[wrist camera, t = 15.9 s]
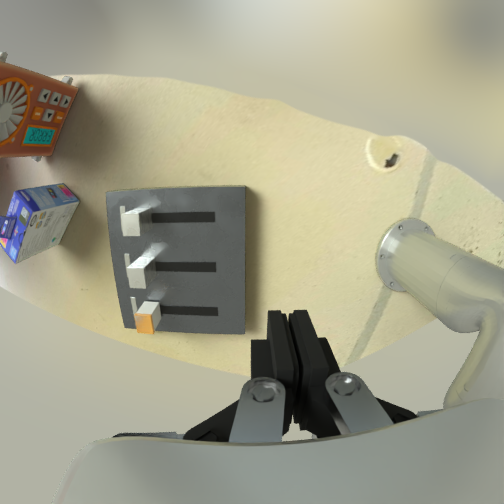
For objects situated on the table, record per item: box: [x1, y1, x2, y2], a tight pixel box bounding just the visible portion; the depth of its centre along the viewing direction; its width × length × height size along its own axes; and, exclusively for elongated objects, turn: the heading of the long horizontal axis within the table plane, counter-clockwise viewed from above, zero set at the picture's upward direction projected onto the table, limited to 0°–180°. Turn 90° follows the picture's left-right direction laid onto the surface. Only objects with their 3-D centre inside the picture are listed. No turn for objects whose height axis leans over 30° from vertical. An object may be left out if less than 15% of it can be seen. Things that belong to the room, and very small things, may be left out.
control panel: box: [0, 52, 79, 162], centre depth 23 cm, size 21×7×15 cm
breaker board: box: [106, 185, 245, 334], centre depth 37 cm, size 20×22×8 cm
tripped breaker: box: [134, 301, 161, 334], centre depth 38 cm, size 2×3×4 cm
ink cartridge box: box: [0, 183, 79, 264], centre depth 32 cm, size 10×6×14 cm, turn 139°
